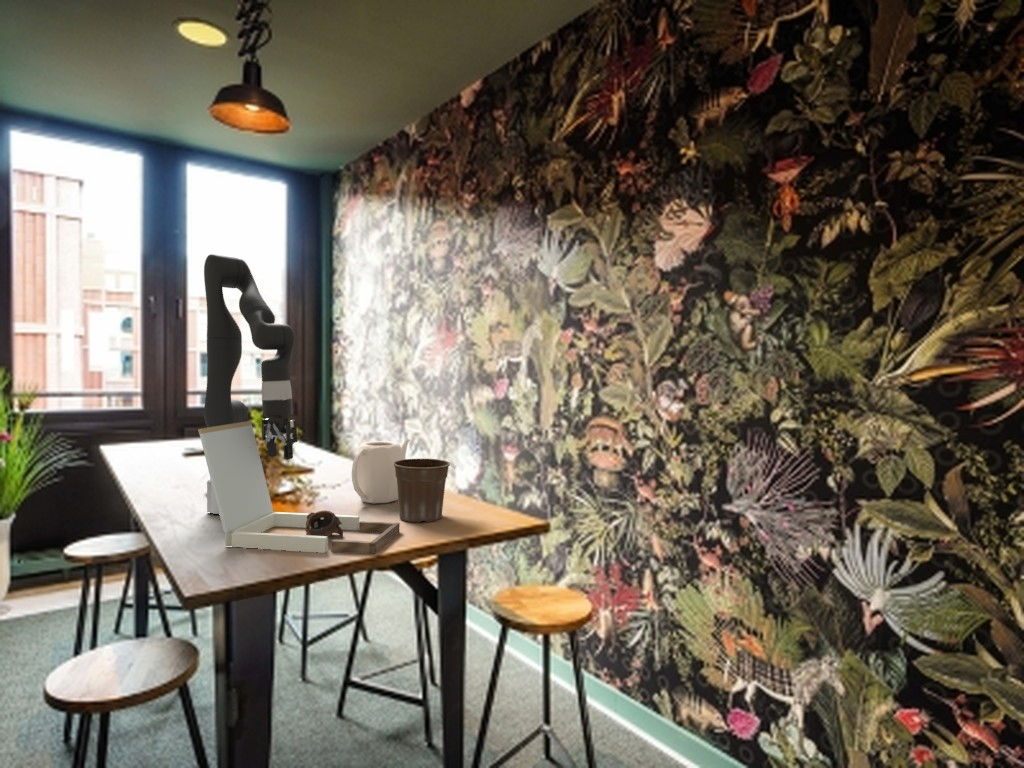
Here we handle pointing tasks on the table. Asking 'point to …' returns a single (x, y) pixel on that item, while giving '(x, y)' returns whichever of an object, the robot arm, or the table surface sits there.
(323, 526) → the pottery mug
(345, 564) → the table surface
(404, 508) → the plant pot
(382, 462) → the watering can
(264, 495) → the cold frame
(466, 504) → the table surface
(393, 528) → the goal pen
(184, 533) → the table surface
